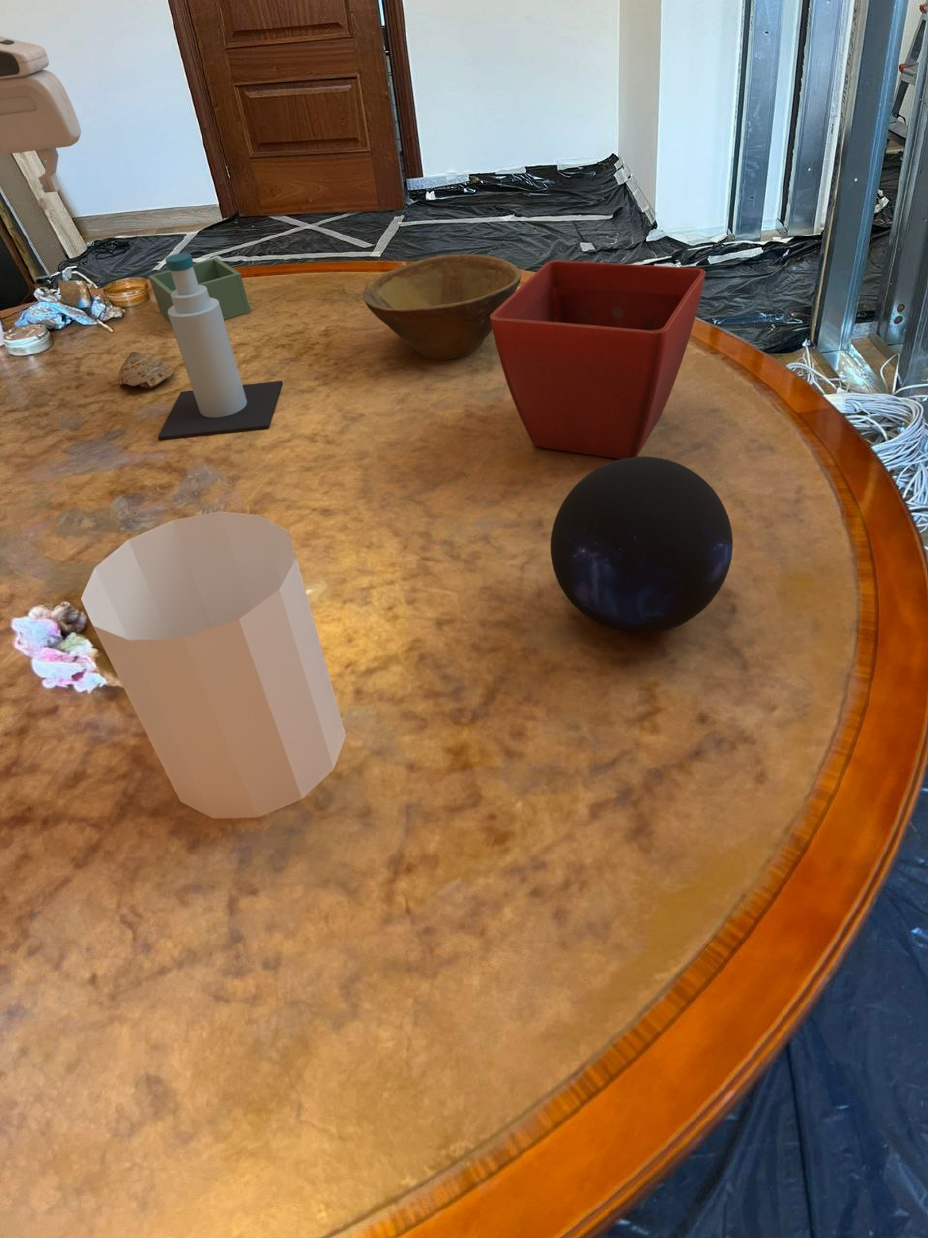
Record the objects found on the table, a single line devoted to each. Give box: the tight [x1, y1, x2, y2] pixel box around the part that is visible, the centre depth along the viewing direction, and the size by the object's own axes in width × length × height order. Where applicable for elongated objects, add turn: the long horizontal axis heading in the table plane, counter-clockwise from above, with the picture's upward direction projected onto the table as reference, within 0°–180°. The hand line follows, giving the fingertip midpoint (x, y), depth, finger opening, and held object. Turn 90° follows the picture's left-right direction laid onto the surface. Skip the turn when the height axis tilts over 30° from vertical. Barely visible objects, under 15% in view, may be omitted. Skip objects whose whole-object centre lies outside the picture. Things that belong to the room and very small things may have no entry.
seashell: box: [117, 351, 175, 389], centre depth 129 cm, size 8×6×8 cm
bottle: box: [165, 252, 247, 418], centre depth 113 cm, size 7×7×20 cm
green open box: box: [148, 257, 252, 323], centre depth 149 cm, size 13×13×7 cm
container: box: [80, 510, 347, 819], centre depth 64 cm, size 14×14×18 cm
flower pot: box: [490, 259, 706, 460], centre depth 99 cm, size 19×19×17 cm
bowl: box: [362, 253, 522, 361], centre depth 126 cm, size 22×23×10 cm
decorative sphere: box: [550, 456, 734, 635], centre depth 73 cm, size 15×15×15 cm
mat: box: [157, 380, 283, 441], centre depth 119 cm, size 15×14×1 cm
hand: (14, 195), depth 104 cm, fingers open, 8 cm apart
